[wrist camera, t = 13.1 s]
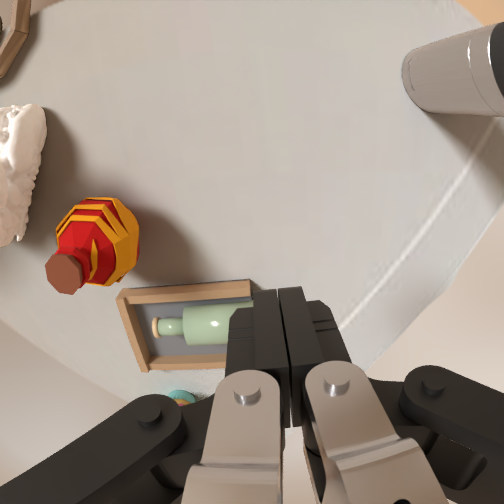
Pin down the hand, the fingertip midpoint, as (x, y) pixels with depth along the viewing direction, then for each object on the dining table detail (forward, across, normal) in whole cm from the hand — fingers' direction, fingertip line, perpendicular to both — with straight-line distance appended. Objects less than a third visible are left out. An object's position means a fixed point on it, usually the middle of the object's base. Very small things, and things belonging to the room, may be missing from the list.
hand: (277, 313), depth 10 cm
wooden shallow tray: (+29, +11, +20) cm, 37 cm away
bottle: (+26, +1, +18) cm, 32 cm away
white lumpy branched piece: (+29, +34, -6) cm, 45 cm away
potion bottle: (+29, +18, +4) cm, 35 cm away
